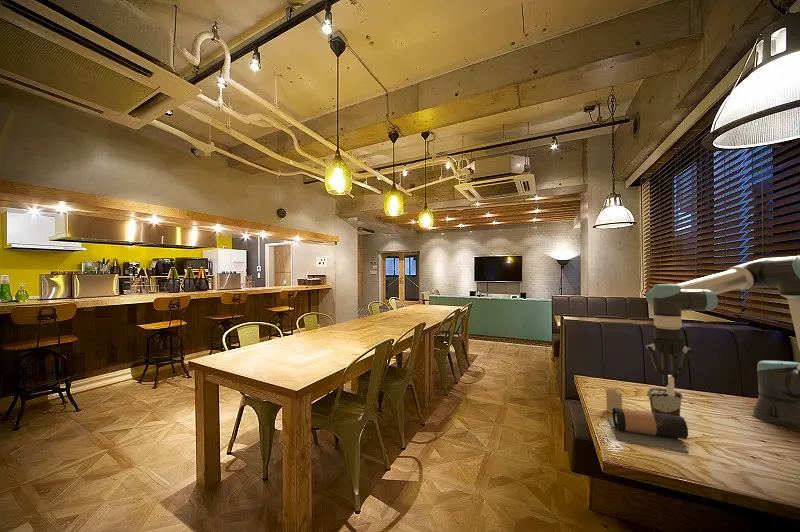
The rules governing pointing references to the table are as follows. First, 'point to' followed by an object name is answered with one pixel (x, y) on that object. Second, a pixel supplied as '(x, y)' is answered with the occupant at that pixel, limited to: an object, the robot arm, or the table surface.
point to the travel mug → (650, 423)
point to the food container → (664, 401)
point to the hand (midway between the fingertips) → (670, 394)
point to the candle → (613, 399)
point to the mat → (648, 439)
